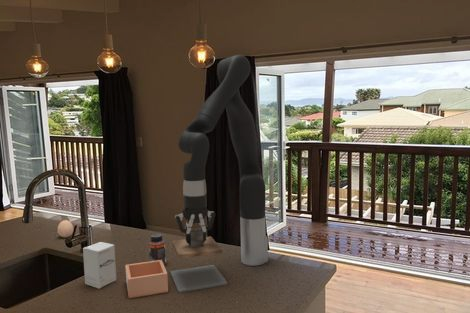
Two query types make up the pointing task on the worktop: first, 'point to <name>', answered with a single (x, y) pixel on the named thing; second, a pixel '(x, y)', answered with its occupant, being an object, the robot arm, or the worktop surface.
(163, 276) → the open cardboard tray
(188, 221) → the robot arm
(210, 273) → the mat
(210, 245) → the lid
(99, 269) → the supplement box
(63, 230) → the egg
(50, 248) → the worktop surface
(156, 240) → the supplement bottle
